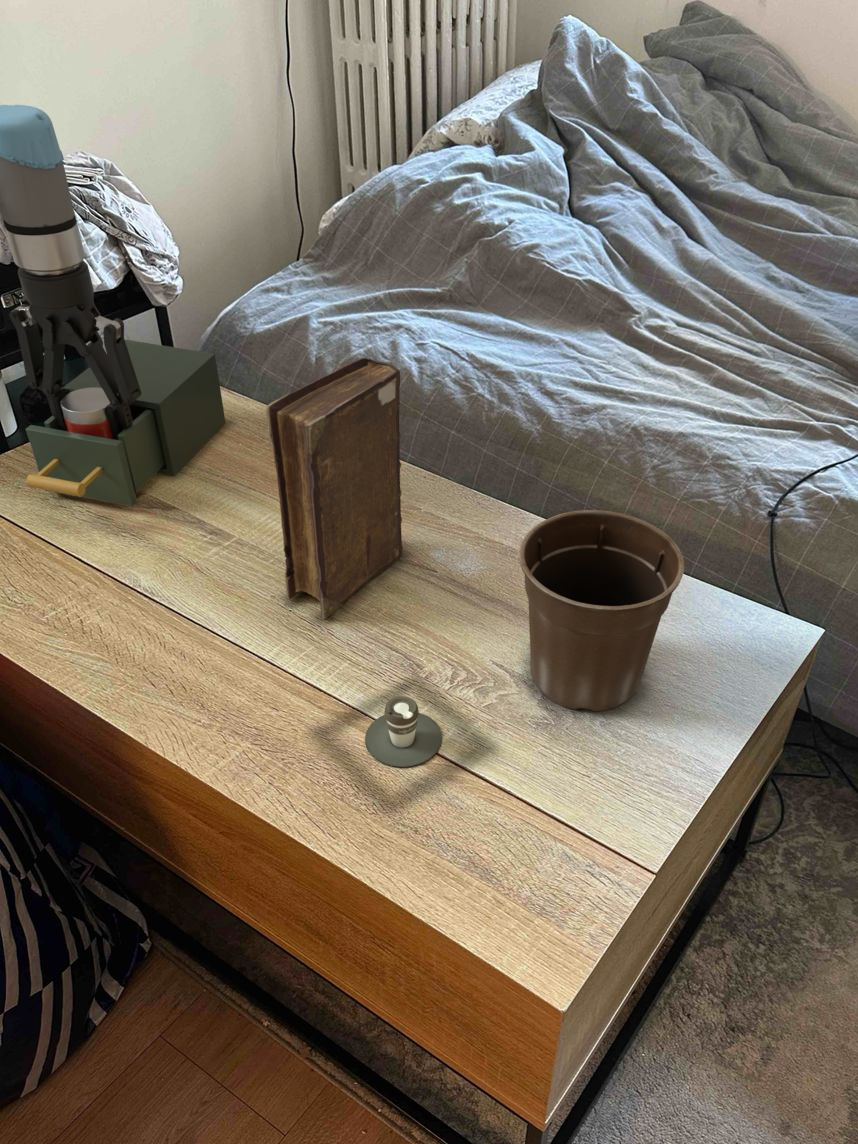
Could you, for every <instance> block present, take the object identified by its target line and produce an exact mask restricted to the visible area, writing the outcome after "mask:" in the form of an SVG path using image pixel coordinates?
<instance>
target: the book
mask: <svg viewBox="0 0 858 1144" xmlns="http://www.w3.org/2000/svg"><path fill="white" fill-rule="evenodd" d="M400 389H401V371H400V369H399V368H397V367H396V366H395V365H394V364H390V363H388V362H384V361H381V360H375V359H372V358H366V357H361V358H359V359H356V360H354V361H352V362H349V363H347V364H346V365H342V366H341V367H340V368H339V369H337V370H335V371H333V372H331V373H329V374H327V375H325V376H323V377H320V378H319V379H316V380H314V381H313V382H310V383H308V384H306V385H305V386H302V387H301V388H299V389H297V390H295V391H292V392H288V393H286V394H284V395H283V396H280V397H279V398H278V399H275V400H274V401H272V402H270V403H269V404H267V405H266V406H265V413H266V421H267V422H266V423H267V429H268V436H269V438H270V442H271V445H272V454H273V459H274V460H273V463H274V464H275V465H274V468H275V473H276V482H277V490H278V497H279V499H278V500H279V510H280V520H281V530H282V537H283V538H282V539H283V541H282V542H283V553H284V558H285V560H284V561H285V572H284V576H285V578H284V579H285V589H286V597H287V599H288V600H292V599H293V598H295V597H296V596H298V595H299V594H300V593H301V592H304V593H307V594H308V595H311V596H312V597H313V598H315V599H317V600H318V601H319V605H320V606H319V607H320V615H321V618H322V619H326V618H328V617H330V616H331V615H333V613H335V612H336V611H338V610H339V609H340V608H341V607H342V606H343V605H344V604H345V603H347V602H348V600H350V598H351V597H353V596H354V595H355V594H356V593H357V592H358V591H359V590H360V589H361V588H362V587H364V586H365V585H366V584H367V583H369V582H370V581H371V580H373V579H374V578H375V577H376V576H377V575H379V574H380V573H381V572H383V571H386V570H387V569H388V568H389V567H391V566H393V565H394V564H395V563H396V562H397V561H398V560H399V559H400V558H401V557H402V553H403V537H402V536H403V535H402V522H403V516H402V509H401V508H402V506H401V505H402V503H401V496H402V495H403V493H402V489H401V467H402V463H401V461H400V460H401V459H400V458H401V455H400V454H401V453H400V448H401V446H400V444H401V443H400V440H401V437H402V434H401V433H400V410H401V409H400V408H401V402H400V391H401V390H400Z"/></svg>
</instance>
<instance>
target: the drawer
mask: <svg viewBox="0 0 858 1144" xmlns="http://www.w3.org/2000/svg"><path fill="white" fill-rule="evenodd" d="M129 407H130V411H131V415H132V420H133V423H132V425H131V426H130V427H129V428H128V429H127V430H126V429H124V430H123V431H122V432H121V433H120V434H118V439H119V440H114V439H108V438H102V437H97V436H91V435H85V434H80V433H74V432H68V431H63V430H61V429H60V426H59V422H58V419H57V418H56V417H54V416H53V415H52V416H50V417H49V418H48V419H46V420H45V421H44V422H43V425H44V426H39V425H33V424H30V425H29V426H28V427H26V428H25V431H26V435H27V438H28V441H29V445H30V449H31V452H32V454H33V457H34V461H35V464H36V467H37V470H38V472H37V473H36V474H34V473H29V474H28V475H27V477H26V479H25V480H26V481H25V482H26V485H27V487H29V488H32V489H39V490H44V491H46V492H51V493H56V494H61V495H68V496H72V497H78V498H82V499H89V500H94V501H99V502H104V503H109V504H114V505H115V504H116V505H120V506H126V507H131V508H133V507H134V506H135V505H136V504H138V501H137V496H136V494H138V493H139V491H140V490H142V488H143V487H144V486H145V485H146V484H147V483H148V482H149V481H151V480H152V479H153V477H155V475H156V474H157V472H158V471H159V470H160V469H161V468H162V467H163V466H164V465H165V464H166V461H165V457H164V452H163V447H162V443H161V438H160V433H159V428H158V424H157V419H156V414H155V409H151V408H145V407H139V406H133V405H129Z"/></svg>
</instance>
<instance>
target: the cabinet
mask: <svg viewBox="0 0 858 1144" xmlns="http://www.w3.org/2000/svg"><path fill="white" fill-rule="evenodd" d="M124 340H125V343H126V346H127V349H128V352H129V355H130V358H131V362H132V365H133V368H134V371H135V374H136V377H137V380H138V384H139V387H140V390H141V396H139V397H138V398H137V399H136V400H135V401H134V402H133V403H131V404H130V405H133V406H139V407H145V408H151V409H155V414H156V419H157V424H158V428H159V433H160V438H161V443H162V447H163V452H164V457H165V461H166V464H165V465H164V466H163V467H162V468H161V469H160V470H159V471H158V472H157V473H156V474H158V475H163V476H168V477H175V476H176V475H178V473H180V471H181V470H182V469H183V468H185V466H186V465H187V464H188V463H189V462H190V461H191V460H192V459H193V458H194V457H195V456H196V455H197V454H198V453H199V452H200V450H202V448H203V447H204V446H205V445H206V444H208V443H209V441H210V440H212V438H214V436H216V434H217V433H218V432H219V431H220V430H221V429H222V428H223V427H224V426H225V425H226V423H227V422H226V415H225V409H224V408H225V407H224V403H223V397H222V390H221V385H220V377H219V372H218V366H217V359H216V353H212V352H207V351H199V350H193V349H188V348H183V347H182V348H181V347H174V346H169V345H161V344H156V343H150V342H144V341H138V340H130V339H124ZM83 388H102V387H101V386H100V384H99V382H98V380H97V379H96V377H95V375H94V373H93V371H92V370H91V368H90V366H89V367H88V368H86V369H85V370H84V371H83V372H81V373H80V374H78V375H77V376H76V377H75V378H74V379H72V380H71V381H70V382H68V383H67V384H65V385H64V386H62V389H69V391H70V392H73V391H75V390H79V389H83Z"/></svg>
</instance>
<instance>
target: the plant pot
mask: <svg viewBox="0 0 858 1144" xmlns="http://www.w3.org/2000/svg"><path fill="white" fill-rule="evenodd" d="M518 553H519V554H518V559H519V560H518V561H519V564H520V568H521V570H522V573H523V574H524V588H525V594H526V596H527V598H528V616H529V617H528V621H529V623H528V624H529V625H528V626H529V653H530V655H529V657H530V660H529V664H530V675H531V678H532V681H533V683H534V684H535V686H536V687H537V689H538V690H539V691H540V692H541V693H542V694H543V695H544V696H545V697H546V698H548V699H549V700H551V701H552V702H554V703H556V704H557V705H559V706H561V707H564V708H567V709H571V710H574V711H575V710H579V709H585V710H590V711H592V712H602V711H607V710H612V709H614V708H617V707H619V706H621V705H623V704H624V703H626V702H628V701H629V700H631V698H632V697H634V696H635V695H636V693H637V691H638V689H639V688H640V686H641V683H642V679H643V676H644V673H645V669H646V666H647V664H648V660H649V656H650V653H651V650H652V647H653V643H654V640H655V638H656V634H657V631H658V629H659V625H660V622H661V619H662V616H663V615H664V613H665V612H666V611H667V609H668V607H669V605H670V602H671V598H672V595H673V592H675V590H677V588H678V587H679V585H680V583H681V581H682V578H683V576H684V572H685V561H684V560H685V559H684V557H683V554H682V552H681V550H680V548H679V546H678V545H677V544H676V542H675V541H674V540H673V539H672V538H671V537H670V536H669V535H668V534H667V533H666V532H665V531H663V530H662V529H661V528H658V527H657V526H655V525H653V524H651V523H649V522H647V521H645V520H643V519H641V518H638V517H635V516H631V515H628V514H623V513H621V512H615V511H609V510H600V509H582V510H574V511H568V512H564V513H560V514H557V515H554V516H551V517H549V518H545V520H542V521H541V522H539V523H537V524H536V525H534V526H533V527H532V528H530V530H529V531H528V532H527V533H526V534H525V536H524V537H523V539H522V541H521V543H520V546H519V551H518Z"/></svg>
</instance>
